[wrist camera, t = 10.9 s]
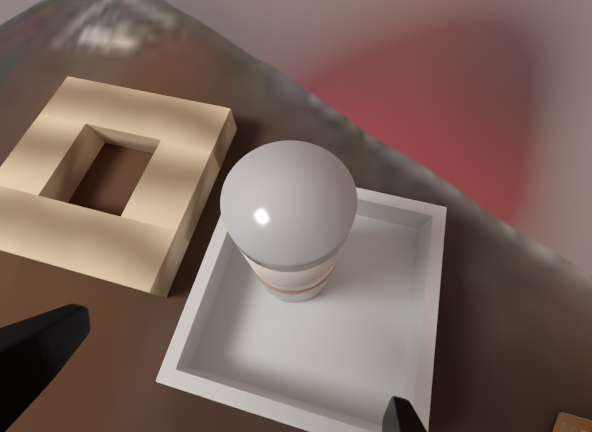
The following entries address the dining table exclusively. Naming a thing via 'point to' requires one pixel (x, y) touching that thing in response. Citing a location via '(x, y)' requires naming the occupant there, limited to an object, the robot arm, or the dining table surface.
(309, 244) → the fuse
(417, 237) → the tray
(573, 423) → the small box
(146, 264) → the socket block
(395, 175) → the dining table surface
